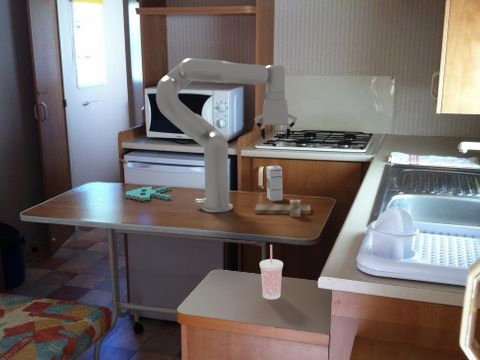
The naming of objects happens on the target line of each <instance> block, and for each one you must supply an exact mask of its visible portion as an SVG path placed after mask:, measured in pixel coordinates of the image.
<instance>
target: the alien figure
mask: <svg viewBox="0 0 480 360" xmlns="http://www.w3.org/2000/svg"><path fill="white" fill-rule="evenodd" d="M166 189H171V190H172V186H171V185H166V186H165V187H164V186H163V187H160V188H155V189H153V186H142V187H141V188H140V187H137V188H136V189H131V190H127V191H126V192H125V197H126V196H130V197H135V198H139V199H144V200H150V201H151V198H150V196H155V197H160V198H165V199H170V200H171V195H170V194H164V193H163V194H162V192H161V191H166ZM156 192H161V193H156ZM166 192H167V191H166ZM155 197H154V198H155ZM160 198H159V199H160ZM165 199H164V200H165Z"/></svg>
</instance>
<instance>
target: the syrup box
mask: <svg viewBox="0 0 480 360" xmlns="http://www.w3.org/2000/svg"><path fill="white" fill-rule="evenodd" d="M265 171H266V199H267V200H268V201H270V202H278V201H283V197H284V195H283V194H284V193H283V187H284V186H283V168H282V167H281V166H279V165H269V166H266V170H265Z"/></svg>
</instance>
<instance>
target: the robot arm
mask: <svg viewBox="0 0 480 360" xmlns="http://www.w3.org/2000/svg"><path fill="white" fill-rule="evenodd" d="M192 82H204V83H205V82H207V83H221V84H222V83H223V84H243V85H256V86H260V85H264V84H265V92H264V93H262V98H265V99H264V100H263V107H262V108H263V109H262V114H259V115H258V116H256V117H254V122H255V124H256V125H257V127H258V128H259V129H260V136H261V138H262V140H265V139H266V128H265V127H266V126H286V139H287V140H289V138H290V137H291V129H292V128H293V126H295V124H296V122H297V120H298V117H296V116H295V115H292V114H290V113H289V108H288V107H289V106H288V100H287V99H286V68H285V66H284V65H283V64H269V65H262V64H249V63H239V62H238V63H237V62H231V61H226V60H220V59H219V60H218V59H217V60H216V59H205V58H204V59H203V58H193V57H192V58H191V57H189V58H186V59H185V58H184V59H183V60H182V61H181V62H180V63H179V64H177V65H176V66H175V67H174V68H173V69H172V70H170V72H168V73H167V74H165V76H163V77H162V78H161V79H159V81H158V83H157V86H156V93H155V94H156V95H155V101H156V104H157V108H158V109H159V111H160V113H161V114H162V115H163V116H164V117H165V118H167V120H169V121H170V123H172V124H173V125H174V126H175V127H177V128H178V129H179V130H180V131H181V132H183V133H184V135H185V136H187V138H189V139H192V140H193V141H195V142H196V143H197V144H198V145H199V146H201V148H203V153H204V155H203V156H204V157H203V160H204V161H203V163H204V166H203V167H204V187H205V188H204V189H205V190H204V191H205V193H204V194H205V197H204V198H195V202H194V203H195V204H197V205H202V207H201V208H202V210H203V211H204V212H207V213H215V214H216V213H225V212H229V211H231V210H233V206H234V205H233V204H232V203H230V202H229V201H230V199H229V197H230V196H229V195H230V194H229V193H230V192H229V166H228V165H229V160H228V159H229V143H228V140H227V139H226V137H225V135H224V134H223V133H222V132H221V131H219V129H217V128H216V127H215V126H213V125H212V124H211V123H210V122H208V120H206V119H205V118H204V117H202V116H201V115H200V114H198V113H195V112H194V111H192V110H191V109H190V108H189V107H188V106H187V105H185V103H183V102H182V101H181V100H180V99H179V93H180V92H181V91H182V90H183V89H184V88H186V87H187V86H188V85H189V84H190V83H192ZM260 119H262V123H260V121H259V120H260ZM289 119H291V120H292V121H291V123H289Z"/></svg>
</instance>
